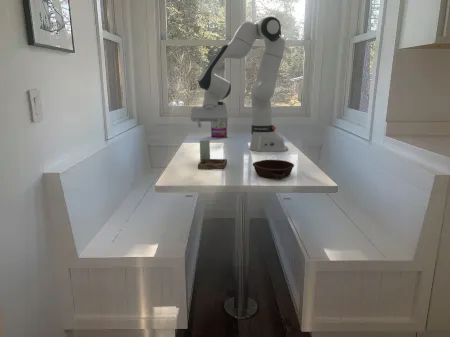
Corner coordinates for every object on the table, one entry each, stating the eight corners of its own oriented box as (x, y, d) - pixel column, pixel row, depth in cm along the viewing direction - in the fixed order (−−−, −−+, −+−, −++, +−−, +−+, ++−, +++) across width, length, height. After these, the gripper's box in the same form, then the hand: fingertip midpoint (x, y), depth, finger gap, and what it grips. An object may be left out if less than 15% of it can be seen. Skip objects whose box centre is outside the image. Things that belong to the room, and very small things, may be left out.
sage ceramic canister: (210, 159, 184) (210, 140, 182) (209, 161, 179) (208, 141, 177) (201, 159, 185) (200, 140, 182) (199, 161, 180) (198, 141, 177)
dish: (257, 183, 141) (257, 170, 140) (248, 169, 163) (248, 159, 161) (300, 181, 143) (301, 169, 142) (285, 168, 164) (286, 157, 163)
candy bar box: (227, 136, 258) (227, 113, 254) (226, 137, 253) (226, 114, 249) (212, 136, 260) (212, 113, 256) (211, 137, 255) (210, 114, 251)
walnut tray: (226, 163, 174) (226, 159, 173) (223, 169, 162) (223, 164, 162) (202, 163, 175) (202, 158, 175) (198, 169, 163) (197, 164, 163)
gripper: (191, 102, 195) (187, 122, 188) (228, 102, 193) (226, 123, 186) (193, 110, 200) (189, 130, 193) (229, 110, 198) (227, 130, 191)
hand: (208, 126), depth 189 cm, fingers open, 8 cm apart
